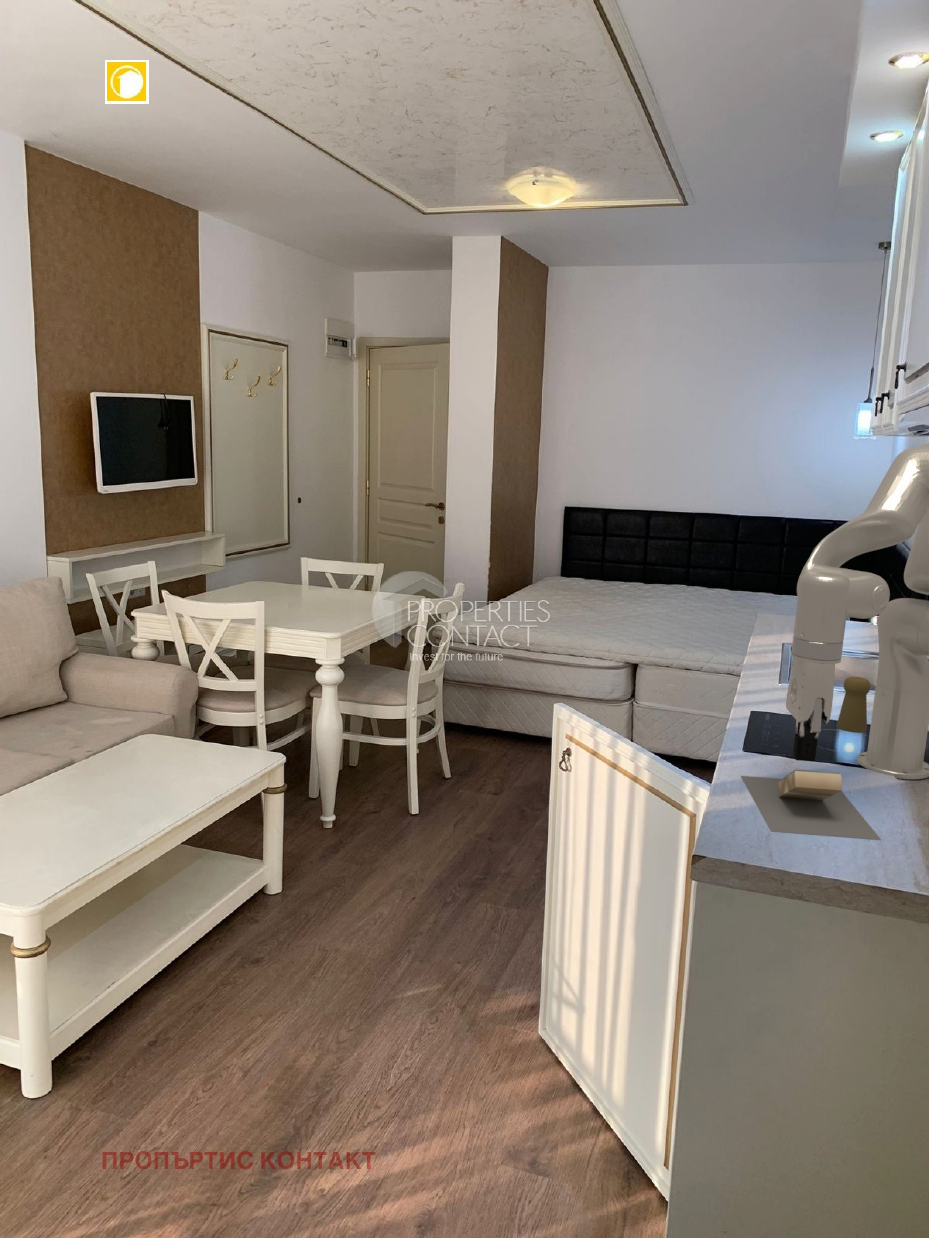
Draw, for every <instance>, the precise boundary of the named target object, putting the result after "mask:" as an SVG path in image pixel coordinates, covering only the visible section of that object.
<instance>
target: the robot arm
mask: <svg viewBox="0 0 929 1238" xmlns="http://www.w3.org/2000/svg"><path fill="white" fill-rule="evenodd" d="M915 532H916V533H915ZM914 534H915V536H914ZM913 536H914V539H913V542H912V545H911V548H910V551H909V554H908V557H907V560H906V564H905V568H904V572H903V581H904V584H905V585H906V587H907V588H908V589H909V590H911V591H914V592H915V593H919V594H923V595H927V596H929V442H926V443H924V444H921V445H919V446H917V447H910V448H907V449H904V450H902V451H901V452H900V453H898V454H897V456H896V457H895V458H894V460H893V461H892V463H891V464H890V466H889V467H888V470H887V471H886V473H885V475H884V477H883V479H882V481H881V482H880V484H879V485H878V488H877V490H876V491H875V493H874V495H873V497H871V500H870V501H869V504H868V505H867V507H866V509H865V510H864V512H863V513H861V514H860V515H858V516H856V517H854V518H852V519H850V520H849V521H847V522H845V523H844V524H842V525H841V526H839V527H838V528H836V529H834V531H831V532H830V533H829V534H828V535H826V536H825V537H823V539H821V540H820V542H818V544H817V545H816V546H815V547H814V548H813V550H812V552H811V554H810V556H809V558H808V559H807V561H806V563H805V565H803V568H802V570H801V573H800V575H799V577H798V579H797V580H798V581H797V584H796V595H797V601H796V602H797V603H796V611H795V620H794V628H793V637H792V645H791V653H790V657H791V658H793V660H792V664H791V670H790V676H789V682H788V688H787V694H786V700H785V708H786V709H787V711H788V713H790V715H791V716H792V717H793V719H795V721H796V722H795V734H794V741H793V748H792V757H793V758H794V760H796V761H802V762H815V761H816V757H817V755H816V754H817V747H818V740H819V734H821V731H822V724H823V725H827V724H828V723H829V722H830V719H831V717H832V716H831V715H832V714H831V713H832V708H833V700H834V688H835V677H836V676H835V672H836V664H839V663H841V662H842V654H843V646H844V638H845V630H846V622H847V618H855V619H863V620H865V619H871V618H874V617H876V616H878V618H877V638H878V639H877V640H878V662H877V673H876V680H875V681H876V682H875V689H874V697H873V706H872V710H871V711H872V712H871V721H870V728H869V735H868V745H867V751H865V752H864V751H863V752H861V753H859V754H858V755H857V757H856V763H857V764H859V765H860V766H862V767H863V768H865V769H868V770H870V771H872V772H876V773H879V774H883V775H887V776H892V777H894V778H895V779H900V780H922V779H926V778H929V763H928V762H925V760H924V759H925V754H926V753H925V752H926V744H927V739H928V733H929V732H928V731H929V659H928V657H929V600H926V599H919V598H917V599H916V598H912V597H911V598H910V597H909V598H908V597H906V598H905V597H903V598H902V597H900V598H895V599H893V600H890V598H891V597H890V596H891V593H890V588H889V584H888V583H887V581H886V580H885V579H884V578H882V576H880V575H877V574H875V573H872V572H868V571H862V570H861V571H860V570H855V569H854V570H853V569H848V568H844V567H841V566H842V565H844V564H845V563H847V562H848V561H849V560H851V559H853V558H855V557H857V556H860V555H863V554H865V553H869V552H873V551H877V550H881V549H884V548H885V549H886V548H889V547H892V546H893V547H894V546H895V545H899V544H902V543H905V542H907V541H908V540H910V538H912V537H913Z"/></svg>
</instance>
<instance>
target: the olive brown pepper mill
mask: <svg viewBox="0 0 929 1238" xmlns="http://www.w3.org/2000/svg"><path fill="white" fill-rule="evenodd" d="M843 689H844V691H845V693H844V697H843V701H842V705H841V707H840V711H839V715H838V719H837V723H836V728H837V729H839V730H841V731H844V732H848V733H849V732H850V733H858V734H861V733H862V734H863V733H866V732H867V731H868V719H867V718H868V716H867V715H868V713H867V712H868V709H867V708H868V706H867V702H868V701H867V700H868V699H867V697H868V696H867V695H868V694H869V693H870V690H871V682H870V680H869V679H867V678H865V677H861V676H848V677H846V678H845V680H844V682H843Z"/></svg>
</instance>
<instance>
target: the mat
mask: <svg viewBox="0 0 929 1238" xmlns="http://www.w3.org/2000/svg"><path fill="white" fill-rule="evenodd" d="M740 778H741V780H742V782H743V784H744V786H745V787H746V789H747V791H748V793H749V794H750V796H751V798H752V799H753V802H754V803H755V806H756V807H757V808H758V810H759V812H760V814H761V816H762V817H763V820H764V821H765V823H766V825H767V827H768V828H769V830H770V832H771V833H783V834H794V835H795V834H796V835H799V834H800V835H807V836H808V835H809V836H819V837H820V836H821V837H822V836H823V837H836V838H846V839H847V838H849V839H858V840H859V839H860V840H861V839H862V840H873V841H882V839H881V837H880V836H879V834H877V832H876V831H875V830H874V829H873V827H871V825H870V824H869V823H868V821H866V819H865V818H864V816H863V815H862V814H861V813H860V812H859V810H857V808H856V807H855V805H854V804H853V803H852V802H851V800H850V799H848V797H847V796H846V795H845V794H844V793H843V790H842V791H840V792H838V793H836V794H834V795H832V796H830V797H829V798H827V799H825V800H823V801H822V800H809V799H796V798H782V797H779V782H780V780H781V779H782V778H777V777H764V776H763V777H761V776H752V775H751V776H749V775H748V776H747V775H740Z"/></svg>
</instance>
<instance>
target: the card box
mask: <svg viewBox="0 0 929 1238" xmlns="http://www.w3.org/2000/svg"><path fill="white" fill-rule="evenodd" d="M780 779H781V780H780V782H779V797H782V798H796V799H809V800H822V801H823V800H825V799H827V798H829V797H830V796H832V795H834V794H836V793H838V792H840V791H842V792H843V782H842V781H843V779H842V773H840V771H839V772H836V771H823V770H810V769H794V770H793V771H792V772H790V773H789V774H787V775H785V776H784V777H783V778H780Z"/></svg>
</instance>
